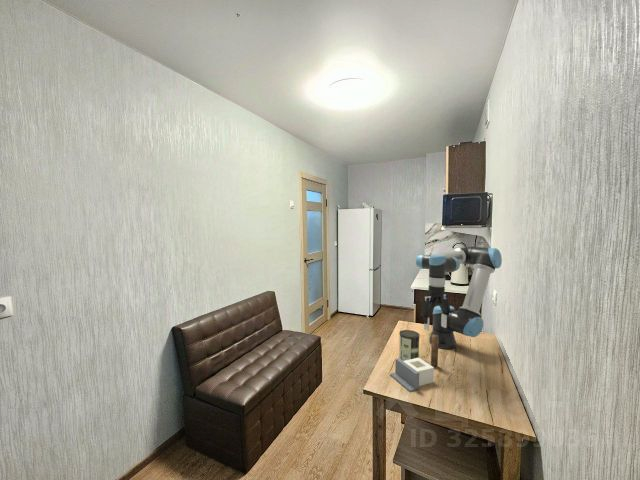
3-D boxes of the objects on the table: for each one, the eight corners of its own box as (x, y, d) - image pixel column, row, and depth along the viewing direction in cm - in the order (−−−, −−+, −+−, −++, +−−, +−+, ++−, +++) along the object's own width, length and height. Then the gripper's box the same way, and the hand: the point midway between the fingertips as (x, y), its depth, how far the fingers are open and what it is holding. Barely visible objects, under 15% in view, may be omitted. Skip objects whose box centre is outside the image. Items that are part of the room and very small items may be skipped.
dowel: (434, 364, 140) (435, 334, 140) (438, 367, 137) (440, 336, 137) (429, 365, 139) (430, 334, 138) (434, 368, 136) (435, 337, 136)
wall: (398, 373, 132) (399, 358, 131) (418, 389, 119) (419, 372, 118) (390, 375, 130) (390, 360, 129) (409, 392, 117) (410, 375, 116)
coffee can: (417, 355, 150) (417, 330, 149) (420, 364, 140) (421, 338, 139) (398, 353, 152) (398, 329, 151) (399, 362, 142) (400, 336, 141)
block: (418, 371, 133) (418, 357, 133) (433, 382, 124) (434, 367, 124) (401, 375, 130) (402, 361, 129) (416, 386, 120) (416, 371, 120)
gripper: (448, 282, 144) (446, 323, 145) (413, 285, 135) (412, 328, 137) (459, 285, 137) (458, 328, 138) (423, 288, 128) (422, 334, 130)
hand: (435, 328), depth 137 cm, fingers open, 10 cm apart
